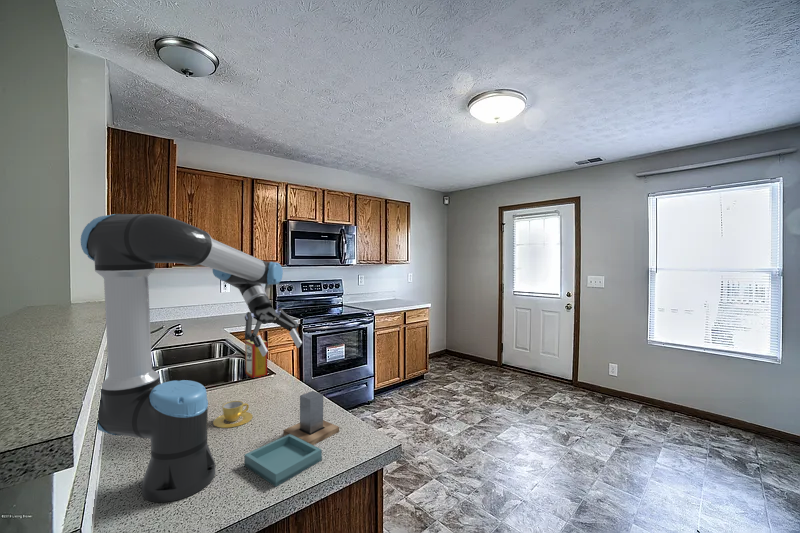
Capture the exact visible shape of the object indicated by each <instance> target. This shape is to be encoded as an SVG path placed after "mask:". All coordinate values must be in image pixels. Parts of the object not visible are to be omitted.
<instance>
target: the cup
mask: <svg viewBox="0 0 800 533" xmlns="http://www.w3.org/2000/svg"><path fill="white" fill-rule="evenodd" d="M245 406H246V407H245ZM244 407H245V409H244ZM221 408H222V413H223V414H222V415H219V416H218V417H216V418H215V419H214V420H213V422H212V424H213V425H214V426H215V427H218V428H222V429H223V428H224V429H226V428H227V429H229V428H236V427H239V426H243V425H245V424H247V423H249V422H250V421H251V420H252V419H253V417H254V416H253V414H252V413H251V412H249V408H250V405H249V404H248V403H246V402H245V403H244V402H243V401H241V400H232V401H228V402H225V403H223V405H222V407H221ZM240 417H242V420H240ZM225 420H226V421H227V422H229V423H226V422H224V421H225ZM238 420H239V421H238ZM236 421H238V422H236Z"/></svg>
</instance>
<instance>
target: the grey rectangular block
mask: <svg viewBox="0 0 800 533" xmlns="http://www.w3.org/2000/svg"><path fill="white" fill-rule="evenodd" d="M323 420H324V394H323V393H320V392H318V391H317V392H316V391H314V390H312V391H309V392H307V393H304V394H300V395H299V423H300V431H302V432H304V433H306V434H309V435H312V434H314V433H316V432H318V431H320V430H322V429H323Z"/></svg>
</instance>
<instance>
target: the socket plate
mask: <svg viewBox="0 0 800 533" xmlns="http://www.w3.org/2000/svg"><path fill="white" fill-rule="evenodd" d="M282 433H283V436H286V435H288V434H291V435H293V436H295V437H297V438H299V439H301V440H303V441H305V442H307V443H309V444H312V445H314V446H315V445H317V444H318V443H321V442H323V441H324V440H326V439H328V438H330V437H332V436H333V435H335V434H337V433H340V426H338V425H336V424H333V423H331V422H329V421H326V420H324V419H323V429H322V430H320V431H318V432H316V433H314V434H312V435H309V434H306V433H304V432H302V431H300V422H298V423H296V424H293V425H291V426H290V427H287V428H285V429H283V432H282Z"/></svg>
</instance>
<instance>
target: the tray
mask: <svg viewBox="0 0 800 533" xmlns="http://www.w3.org/2000/svg"><path fill="white" fill-rule="evenodd" d="M322 453H323V452H322V449H321V448H320V447H318V446H315V445H312V444H309V443H307V442H305V441H303V440H301V439H299V438H297V437H295V436H293V435H291V434H288V435H286V436H285V435H283V436H282V437H280V438H277V439H275V440H273V441H271V442H268V443H266V444H265V445H262V446H260V447H258V448H256V449H253V450H251V451H249V452H247V453H245V454H244V455H243V456H244V464H243V465H244V467H246V468H247V469H248V470H250V471H251V472H253V473H255V474H256V475H258V476H259V477H260V478H262V479H263V480H265V481H267V482H268V483H269V484H271V485H273V486H274V487H276V488H277V487H278V486H280V485H282V484H285V482H287V481H289V480H290V479H292V478H295V477H296V476H298V475H299V474H301V473H302V472H304V471H306V470H308V469H309V468H312V467H313V466H314V465H316V464H318V463H321V461H323V460H322V459H323V458H322V457H323V456H322Z"/></svg>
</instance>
